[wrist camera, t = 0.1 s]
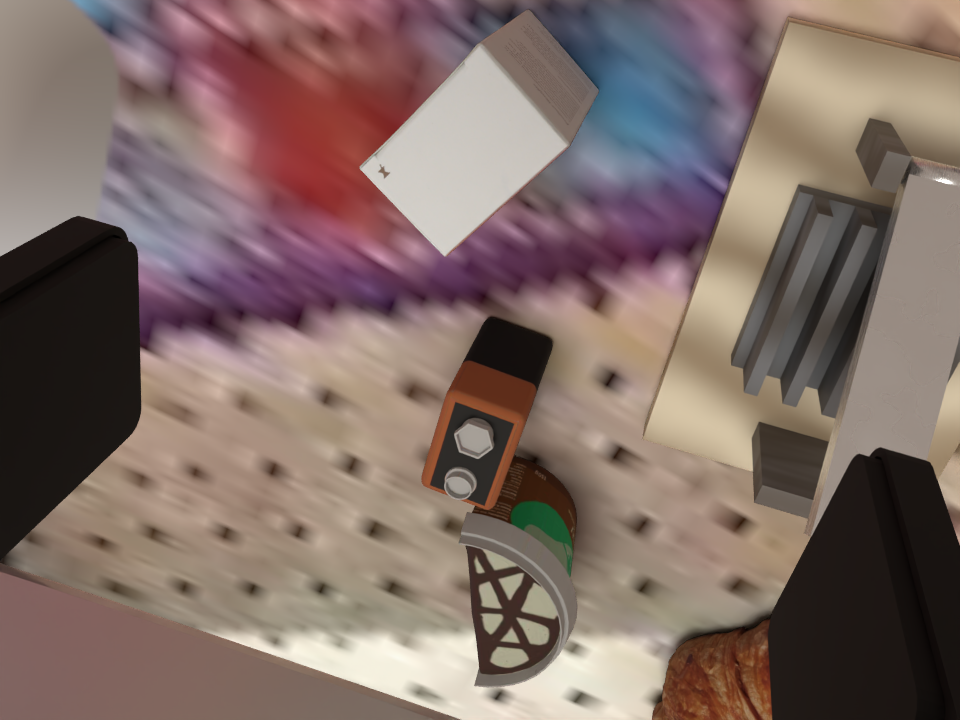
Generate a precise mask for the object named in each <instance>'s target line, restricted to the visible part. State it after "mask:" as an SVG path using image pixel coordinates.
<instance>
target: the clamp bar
mask: <svg viewBox="0 0 960 720" xmlns="http://www.w3.org/2000/svg"><path fill="white" fill-rule="evenodd" d="M959 337H960V168H958V167H954V166H950V165H946V164H942V163H938V162H934V161H930V160H926V159H922V158H918V157H914V156H912V158H911V160H910V162H909V164H908V167H907V169H906V171H905V173H904V175H903V177H902V180H901V182H900V184H899V187H898V190H897V194H896V198H895V201H894V205H893V209H892V212H891V216H890V220H889V223H888V227H887V231H886V234H885V238H884V242H883V245H882V249H881V253H880V256H879V260H878V264H877V267H876V271H875V275H874V278H873V282H872V286H871V290H870V293H869V297H868V301H867V304H866V308H865V312H864V315H863V319H862V323H861V326H860V330H859V334H858V337H857V341H856V345H855V348H854V352H853V356H852V359H851V363H850V367H849V370H848V374H847V378H846V381H845V385H844V389H843V392H842V396H841V400H840V403H839V407H838V411H837V414H836V418H835V422H834V425H833V429H832V433H831V436H830V440H829V444H828V447H827V451H826V455H825V458H824V462H823V466H822V469H821V473H820V477H819V480H818V484H817V488H816V491H815V495H814V499H813V503H812V506H811V510H810V514H809V517H808V521H807V525H806V528H805V532H804V534H806V535H808V536H812V534H813V533H814V531H815V529H816V527H817V525H818V523H819V521H820V519H821V517H822V515H823V513H824V511H825V510H826V508H827V506H828V504H829V502H830V500H831V498H832V496H833V494H834V492H835V490H836V488H837V487H838V485H839V483H840V481H841V479H842V477H843V475H844V473H845V471H846V469H847V467H848V465H849V464H850V462H851V460H852V459H853V458H854V457H855V456H856V455H857V454H862V455H866V456H870V455H871V453H872V452H873V451H874V450H875V449H877V448H879V447H882V448H885V449H888V450H892V451H895V452H899V453H902V454H906V455H909V456H913V457H916V458H920V459H923V460H926V461H927V457H928V454H929V450H930V446H931V442H932V439H933V435H934V431H935V427H936V424H937V420H938V416H939V412H940V409H941V405H942V401H943V397H944V393H945V390H946V386H947V382H948V378H949V375H950V371H951V367H952V363H953V360H954V356H955V352H956V348H957V345H958V341H959Z"/></svg>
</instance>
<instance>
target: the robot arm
mask: <svg viewBox="0 0 960 720" xmlns="http://www.w3.org/2000/svg"><path fill="white" fill-rule="evenodd" d="M140 415H141V374H140V328H139V282H138V253H137V249H136V246H135V245H134V244H133V243H132V242H129V241H128V237H127V235H126V233H125V231H124V230H123V229H121V228H120V227H116V226H113V225H109V224H106V223H102V222H99V221H95V220H92V219H88V218H85V217H80V216H76V217H73V218H71V219H69V220H67V221H65V222H63V223H62V224H59V225H58V226H56V227H54V228H52V229H50V230H48V231H47V232H45V233H43V234H41V235H39V236H37V237H36V238H34V239H32V240H30V241H28V242H26V243H24V244H23V245H21V246H19V247H17V248H15V249H13V250H12V251H10V252H8V253H6V254H4V255H2V256H0V560H1V559H2V558H3V557H4V556H5V555H6V554H7V553H8V552H9V551H10V550H11V549H13V548H14V547H15V546H16V545H17V544H18V543H19V542H20V541H21V540H22V539H23V538H24V537H25V536H26V535H27V534H28V533H29V532H30V531H31V530H32V529H33V528H34V527H35V526H37V525H38V524H39V523H40V522H41V521H42V520H43V519H44V518H45V517H46V516H47V515H48V514H49V513H50V512H51V511H52V510H53V509H54V508H55V507H56V506H57V505H58V504H59V503H60V502H62V501H63V500H64V499H65V498H66V497H67V496H68V495H69V494H70V493H71V492H72V491H73V490H74V489H75V488H76V487H77V486H78V485H79V484H80V483H81V482H82V481H83V480H84V479H86V478H87V477H88V476H89V475H90V474H91V473H92V472H93V471H94V470H95V469H96V468H97V467H98V466H99V465H100V464H101V463H102V462H103V461H104V460H105V459H106V458H107V457H108V456H110V455H111V454H112V453H113V452H114V451H115V450H116V449H117V448H118V447H119V446H120V445H121V444H122V443H123V442H124V441H125V440H126V439H127V438H128V437H129V436H130V435H131V434H132V433H133V431H134V430H135V428H136V426H137V424H138V421H139V418H140ZM768 650H769V669H770V689H771V708H772V720H960V545H959V542H958V539H957V536H956V533H955V530H954V527H953V524H952V521H951V519H950V516H949V513H948V510H947V507H946V504H945V501H944V498H943V495H942V492H941V489H940V486H939V483H938V480H937V477H936V475H935V472H934V469H933V466H932V465H931V463H930V462H929V461H926V460H923V459H920V458H916V457H913V456H909V455H906V454H902V453H899V452H895V451H892V450H888V449H885V448H882V447H879V448H877V449H875V450H874V451H873V452H872V453H871V455H870V456H866V455H862V454H857V455H856V456H855V457H854V458H853V459H852V460H851V462H850V464H849V465H848V467H847V469H846V471H845V473H844V475H843V477H842V479H841V481H840V483H839V485H838V487H837V488H836V490H835V492H834V494H833V496H832V498H831V500H830V502H829V504H828V506H827V508H826V510H825V511H824V513H823V515H822V517H821V519H820V521H819V523H818V525H817V527H816V529H815V531H814V533H813V534H812V536H811V538H810V540H809V542H808V544H807V546H806V548H805V550H804V552H803V554H802V556H801V557H800V559H799V561H798V563H797V565H796V567H795V569H794V571H793V573H792V575H791V577H790V579H789V580H788V582H787V584H786V586H785V588H784V590H783V592H782V594H781V596H780V598H779V600H778V602H777V603H776V605H775V608H774V610H773V612H772V616H771V619H770V623H769V629H768ZM0 720H460V719H457V718H455V717H452V716H449V715H446V714H443V713H440V712H437V711H434V710H432V709H429V708H426V707H423V706H420V705H417V704H414V703H411V702H408V701H406V700H403V699H400V698H397V697H394V696H391V695H388V694H385V693H382V692H379V691H376V690H373V689H370V688H368V687H365V686H362V685H359V684H356V683H353V682H350V681H347V680H344V679H341V678H338V677H335V676H332V675H329V674H327V673H324V672H321V671H318V670H315V669H312V668H309V667H306V666H303V665H300V664H297V663H294V662H291V661H289V660H286V659H283V658H280V657H277V656H274V655H271V654H268V653H265V652H262V651H259V650H256V649H253V648H250V647H247V646H244V645H242V644H239V643H236V642H233V641H230V640H227V639H224V638H221V637H218V636H215V635H212V634H209V633H206V632H203V631H200V630H197V629H194V628H191V627H188V626H186V625H183V624H180V623H177V622H174V621H171V620H168V619H165V618H162V617H159V616H156V615H153V614H150V613H147V612H144V611H141V610H138V609H135V608H132V607H129V606H126V605H123V604H120V603H117V602H114V601H111V600H108V599H105V598H102V597H99V596H96V595H93V594H90V593H87V592H84V591H82V590H79V589H76V588H73V587H70V586H67V585H64V584H61V583H58V582H55V581H52V580H49V579H46V578H43V577H40V576H37V575H34V574H31V573H28V572H25V571H22V570H19V569H16V568H13V567H10V566H7V565H4V564H1V563H0Z"/></svg>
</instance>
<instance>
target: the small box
mask: <svg viewBox="0 0 960 720" xmlns="http://www.w3.org/2000/svg"><path fill="white" fill-rule="evenodd" d="M598 93H599V90H598V89H597V87H596V86H595V85H594V84H593V83H592V81H591V80H590V79H589V78H588V77H587V75H586V74H585V73H584V72H583V71H582V70H581V68H580V67H579V66H578V65H577V64H576V63H575V61H574V60H573V59H572V58H571V57H570V56H569V54H568V53H567V52H566V51H565V50H564V49H563V48H562V46H561V45H560V44H559V43H558V42H557V41H556V40H555V38H554V37H553V36H552V35H551V34H550V33H549V31H548V30H547V29H546V28H545V27H544V26H543V25H542V23H541V22H540V21H539V20H538V19H537V18H536V17H535V16H534V15H533V13H532V12H531V11H530V10H526V11H525V12H523V13H521V14H520V15H519V16H517V17H516V18H514V19H513V20H512V21H510V22H509V23H507V24H506V25H504V26H503V27H501V28H500V29H499V30H497V31H495V32H494V33H493V34H491V35H490V36H488V37H487V38H485V39H484V40H483V41H481V42H480V43H478V44H477V45H476V46H475V47H474V49H473V50H472V51H471V52H470V53H469V55H468V56H467V57H466V58H465V59H464V60H463V61H462V63H461V64H460V65H459V66H458V67H457V68H456V69H455V70H454V71H453V72H452V74H451V75H450V76H449V77H448V78H447V79H446V80H445V81H444V82H443V83H442V84H441V85H440V86H439V87H438V88H437V89H436V91H435V92H434V93H433V94H432V95H431V96H430V97H429V98H428V99H427V100H426V101H425V102H424V103H423V104H422V105H421V106H420V107H419V108H418V109H417V110H416V111H415V112H414V113H413V115H412V116H411V117H410V118H409V119H408V120H407V121H406V122H405V123H404V124H403V125H402V126H401V127H400V128H399V129H398V130H397V131H396V132H395V133H394V134H393V135H392V136H391V137H390V138H389V139H388V140H387V141H386V142H385V143H384V144H383V145H382V146H381V147H380V148H379V149H378V150H377V151H376V152H375V153H373V154H372V155H371V156H370V157H369V158H368V159H367V160H366V161H365V162H364V163H363V164H362V165H361V166H360V170H361V171H362V172H363V173H364V174H365V175H366V176H367V177H368V178H369V179H370V180H371V181H372V182H373V183H374V184H375V185H376V186H377V188H378V189H379V190H380V191H381V192H382V193H383V194H384V195H385V196H386V197H387V198H388V199H389V200H390V201H391V202H392V203H393V204H394V205H395V206H396V207H397V208H398V209H399V210H400V211H401V212H402V213H403V214H404V215H405V216H406V217H407V219H408V220H409V221H410V222H411V223H412V224H413V225H414V226H415V227H416V228H417V229H418V230H419V231H420V232H421V233H422V234H423V235H424V236H425V237H426V238H427V239H428V240H429V241H430V242H431V243H432V244H433V245H434V246H435V247H436V248H437V249H438V250H439V251H440V252H441V254H442V255H443V256H445V257H446V256H448V255H449V254H450V253H451V252H452V251H453V250H455V249H456V248H457V247H458V246H459V245H460V244H461V243H462V242H463V241H465V240H466V239H467V238H468V237H469V236H470V235H471V234H472V233H474V232H475V231H476V230H477V229H478V228H479V227H480V226H482V225H483V224H484V223H485V222H486V221H487V220H488V219H489V218H490V217H492V216H493V215H494V214H495V213H496V212H497V211H498V210H499V209H500V208H502V207H503V206H504V205H505V204H506V203H507V202H508V201H509V200H510V199H512V198H513V197H514V196H515V195H516V194H517V193H518V192H519V191H521V190H522V189H523V188H524V187H525V186H526V185H527V184H528V183H529V182H531V181H532V180H533V179H534V178H535V177H536V176H537V175H538V174H539V173H541V172H542V171H543V170H544V169H545V168H546V167H547V166H548V165H550V164H551V163H552V162H553V161H554V160H555V159H556V158H557V157H558V156H560V155H561V154H562V153H563V152H564V151H565V150H566V149H567V148H569V147H570V145H571V143H572V141H573V139H574V138H575V136H576V134H577V132H578V130H579V128H580V127H581V124H582V122H583V120H584V118H585V117H586V115H587V113H588V111H589V110H590V108H591V106H592V104H593V102H594V100H595V98H596V96H597V95H598Z"/></svg>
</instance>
